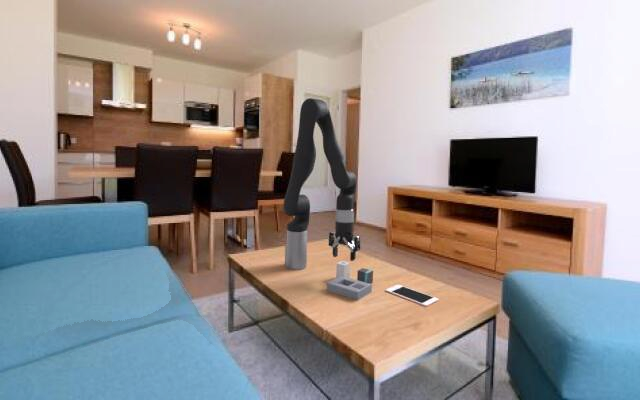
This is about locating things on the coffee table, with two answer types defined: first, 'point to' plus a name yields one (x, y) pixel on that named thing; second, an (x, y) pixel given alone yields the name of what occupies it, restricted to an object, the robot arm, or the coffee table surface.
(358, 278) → the grey and blue block
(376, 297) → the coffee table surface
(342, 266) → the block
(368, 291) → the outlet
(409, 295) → the cell phone
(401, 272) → the coffee table surface
